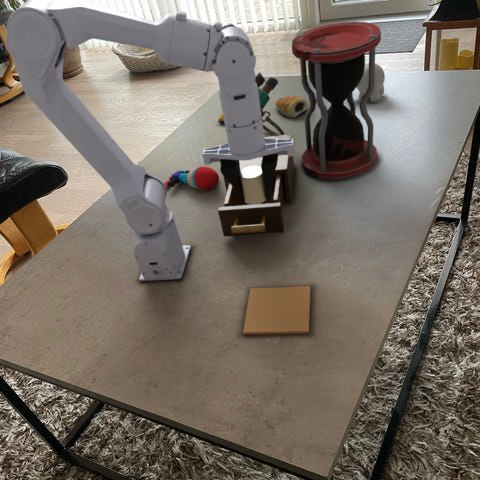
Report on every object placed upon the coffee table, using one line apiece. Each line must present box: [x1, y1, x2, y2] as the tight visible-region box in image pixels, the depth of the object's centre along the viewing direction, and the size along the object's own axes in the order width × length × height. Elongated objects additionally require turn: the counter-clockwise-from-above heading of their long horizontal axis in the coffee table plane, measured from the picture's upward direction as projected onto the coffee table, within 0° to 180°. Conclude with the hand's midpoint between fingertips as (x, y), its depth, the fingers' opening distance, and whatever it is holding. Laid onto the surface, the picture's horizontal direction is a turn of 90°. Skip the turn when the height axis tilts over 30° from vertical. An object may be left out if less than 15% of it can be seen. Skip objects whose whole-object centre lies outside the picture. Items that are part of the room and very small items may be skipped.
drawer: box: [217, 173, 285, 237], centre depth 92 cm, size 17×11×6 cm, turn 173°
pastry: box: [275, 95, 309, 119], centre depth 128 cm, size 9×7×4 cm
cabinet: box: [222, 134, 295, 205], centre depth 102 cm, size 15×13×8 cm
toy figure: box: [163, 165, 220, 191], centre depth 108 cm, size 8×5×15 cm
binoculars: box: [218, 72, 286, 136], centre depth 115 cm, size 14×14×15 cm
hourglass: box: [291, 20, 382, 181], centre depth 98 cm, size 16×16×25 cm
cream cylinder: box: [240, 166, 266, 205], centre depth 82 cm, size 4×4×5 cm
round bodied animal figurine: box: [355, 62, 386, 103], centre depth 124 cm, size 7×12×8 cm, turn 62°
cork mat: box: [242, 285, 312, 335], centre depth 77 cm, size 10×10×1 cm
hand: (255, 197), depth 83 cm, fingers closed on cream cylinder, 4 cm apart
